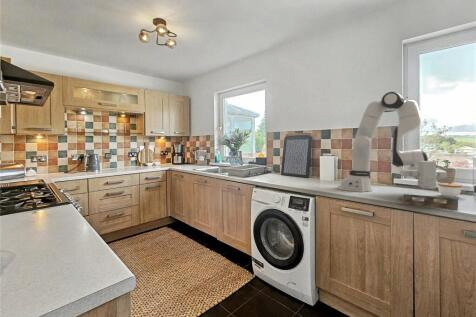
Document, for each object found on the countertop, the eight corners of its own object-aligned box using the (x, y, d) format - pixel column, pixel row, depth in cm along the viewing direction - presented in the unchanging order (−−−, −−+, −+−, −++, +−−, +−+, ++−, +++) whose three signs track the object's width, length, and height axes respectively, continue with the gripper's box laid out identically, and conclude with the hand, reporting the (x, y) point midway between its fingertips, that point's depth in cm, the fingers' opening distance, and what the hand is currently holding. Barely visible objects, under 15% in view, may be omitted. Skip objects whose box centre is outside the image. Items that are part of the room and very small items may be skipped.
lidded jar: (437, 193, 149) (437, 179, 148) (459, 196, 142) (460, 181, 141) (438, 196, 141) (438, 181, 140) (462, 199, 134) (462, 183, 133)
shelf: (404, 204, 122) (404, 194, 122) (399, 198, 135) (399, 189, 135) (458, 209, 112) (458, 198, 112) (447, 203, 125) (447, 193, 125)
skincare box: (436, 189, 120) (437, 161, 119) (422, 188, 122) (423, 161, 121) (429, 186, 127) (430, 160, 127) (416, 186, 130) (417, 160, 129)
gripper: (399, 166, 141) (403, 168, 128) (441, 167, 131) (450, 170, 119) (398, 176, 141) (403, 179, 129) (441, 178, 132) (450, 182, 119)
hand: (426, 175), depth 124 cm, fingers closed on skincare box, 6 cm apart
